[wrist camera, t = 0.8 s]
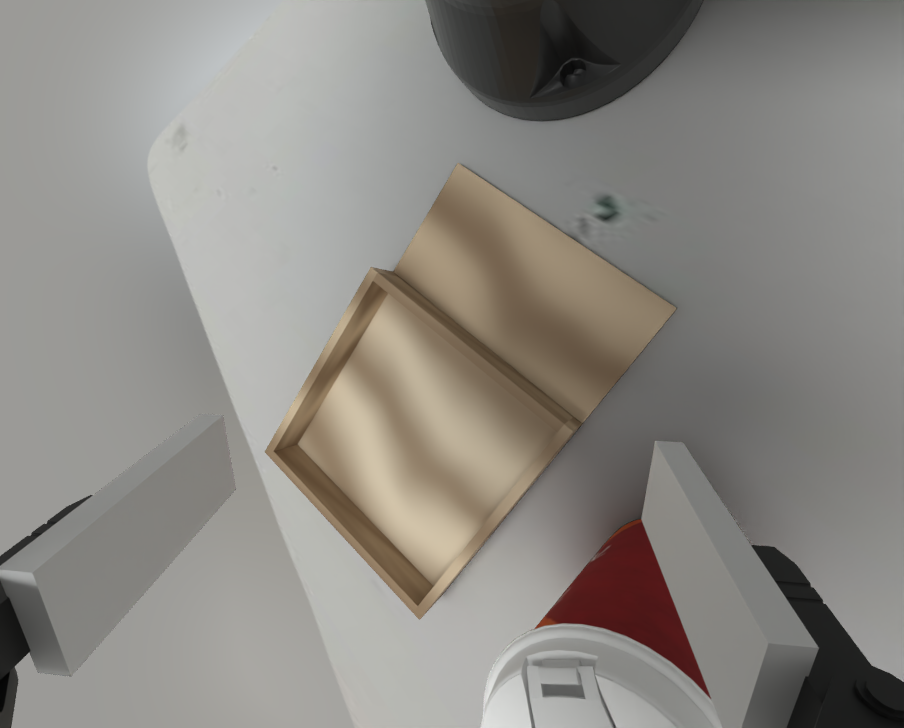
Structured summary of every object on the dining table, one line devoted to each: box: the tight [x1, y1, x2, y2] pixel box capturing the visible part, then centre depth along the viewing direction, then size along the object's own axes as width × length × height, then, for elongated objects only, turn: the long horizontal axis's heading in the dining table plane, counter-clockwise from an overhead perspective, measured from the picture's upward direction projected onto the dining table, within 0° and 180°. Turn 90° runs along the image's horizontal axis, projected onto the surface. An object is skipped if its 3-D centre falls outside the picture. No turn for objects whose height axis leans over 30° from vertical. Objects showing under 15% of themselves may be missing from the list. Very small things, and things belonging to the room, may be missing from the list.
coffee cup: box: [481, 519, 722, 728], centre depth 20 cm, size 8×8×15 cm
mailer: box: [265, 163, 677, 620], centre depth 31 cm, size 24×16×3 cm, turn 144°
